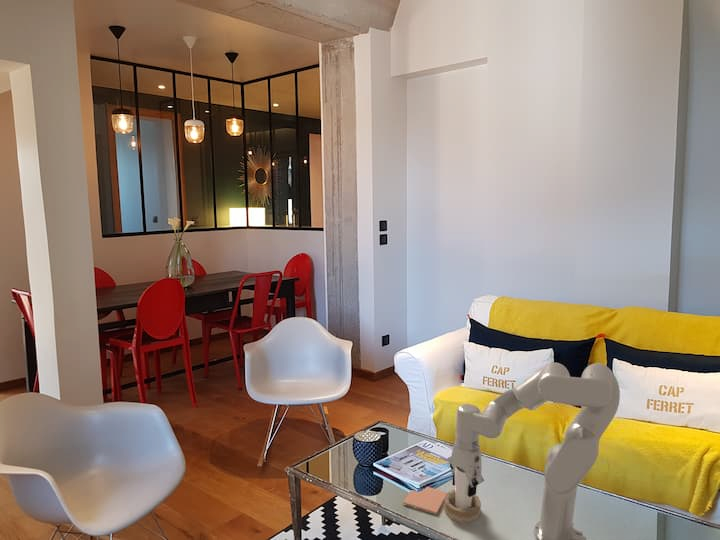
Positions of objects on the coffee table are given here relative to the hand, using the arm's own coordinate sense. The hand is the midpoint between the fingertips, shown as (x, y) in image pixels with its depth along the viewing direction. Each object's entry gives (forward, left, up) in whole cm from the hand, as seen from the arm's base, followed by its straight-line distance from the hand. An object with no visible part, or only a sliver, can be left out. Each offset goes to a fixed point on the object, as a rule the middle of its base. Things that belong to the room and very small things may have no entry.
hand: (464, 489), depth 188 cm
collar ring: (0, 0, -8) cm, 8 cm away
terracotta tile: (+13, 0, -8) cm, 16 cm away
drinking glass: (0, 0, -7) cm, 7 cm away
